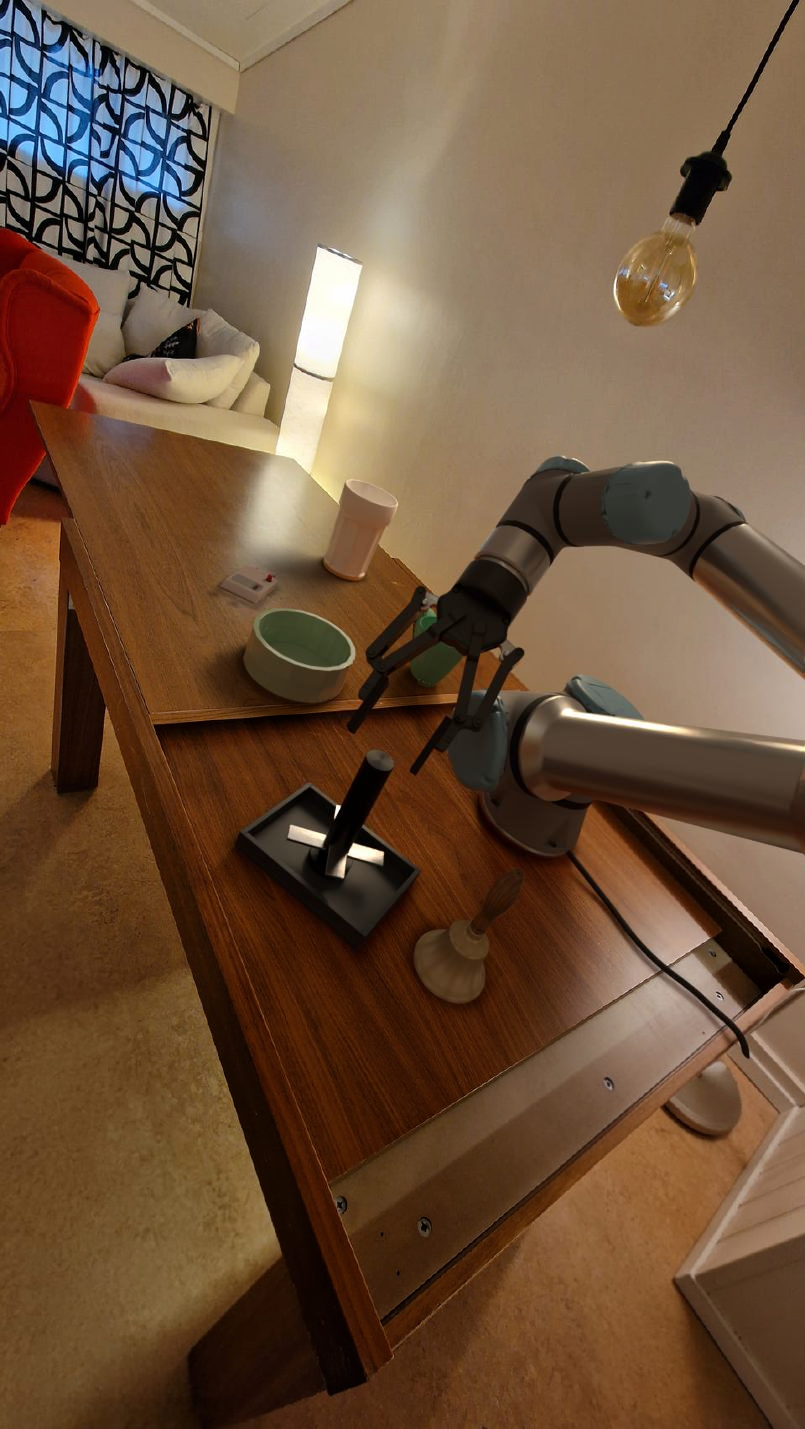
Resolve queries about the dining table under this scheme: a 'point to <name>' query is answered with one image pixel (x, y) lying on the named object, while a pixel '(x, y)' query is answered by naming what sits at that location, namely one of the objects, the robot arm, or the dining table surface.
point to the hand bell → (464, 946)
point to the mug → (432, 655)
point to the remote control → (250, 583)
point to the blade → (348, 823)
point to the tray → (333, 901)
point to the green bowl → (298, 655)
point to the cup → (358, 528)
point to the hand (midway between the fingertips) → (381, 750)
